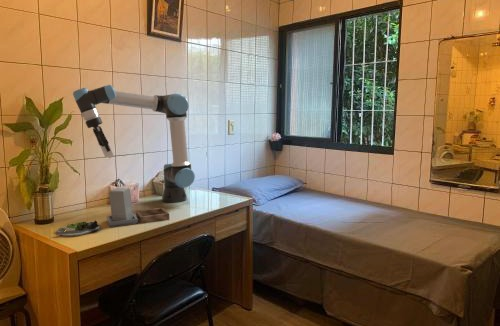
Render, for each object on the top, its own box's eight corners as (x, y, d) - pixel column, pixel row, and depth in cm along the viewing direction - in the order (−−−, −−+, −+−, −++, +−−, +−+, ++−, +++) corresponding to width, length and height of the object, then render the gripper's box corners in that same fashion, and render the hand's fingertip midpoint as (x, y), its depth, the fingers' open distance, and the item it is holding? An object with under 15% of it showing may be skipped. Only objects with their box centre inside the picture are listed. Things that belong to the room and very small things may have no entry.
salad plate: (63, 242, 158) (62, 231, 157) (46, 233, 170) (46, 223, 169) (106, 231, 172) (106, 221, 172) (88, 224, 184) (88, 215, 183)
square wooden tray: (163, 213, 202) (162, 207, 202) (169, 219, 189) (169, 213, 189) (136, 216, 196) (135, 210, 195) (140, 223, 183) (140, 217, 183)
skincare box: (133, 219, 187) (132, 187, 185) (125, 222, 180) (123, 190, 178) (119, 218, 189) (117, 187, 187) (110, 221, 182) (108, 190, 180)
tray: (133, 217, 194) (133, 212, 193) (138, 223, 182) (137, 218, 182) (107, 220, 188) (106, 215, 188) (109, 227, 176) (109, 222, 176)
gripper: (83, 122, 200) (99, 158, 204) (86, 119, 178) (105, 160, 182) (97, 117, 203) (113, 153, 207) (102, 114, 181) (120, 154, 185)
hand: (109, 157), depth 195 cm, fingers open, 13 cm apart
